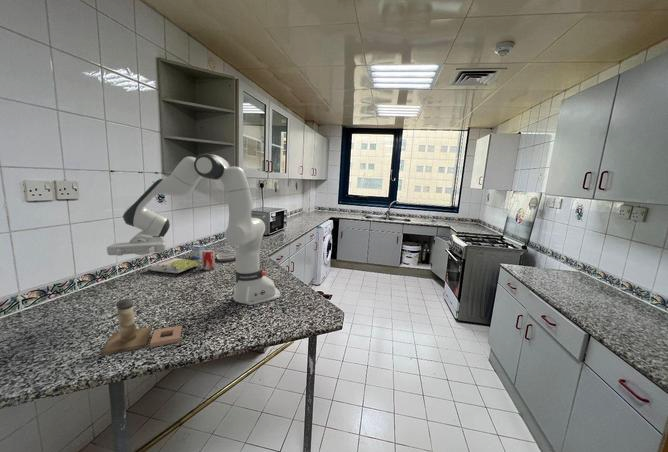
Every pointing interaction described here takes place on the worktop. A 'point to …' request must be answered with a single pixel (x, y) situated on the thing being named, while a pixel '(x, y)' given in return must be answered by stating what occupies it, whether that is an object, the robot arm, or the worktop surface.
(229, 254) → the brain slice
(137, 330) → the walnut board
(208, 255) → the soda can
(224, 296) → the worktop surface
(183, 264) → the frozen beans
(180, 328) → the frame
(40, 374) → the worktop surface
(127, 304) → the beech tool handle
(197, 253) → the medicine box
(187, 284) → the worktop surface
